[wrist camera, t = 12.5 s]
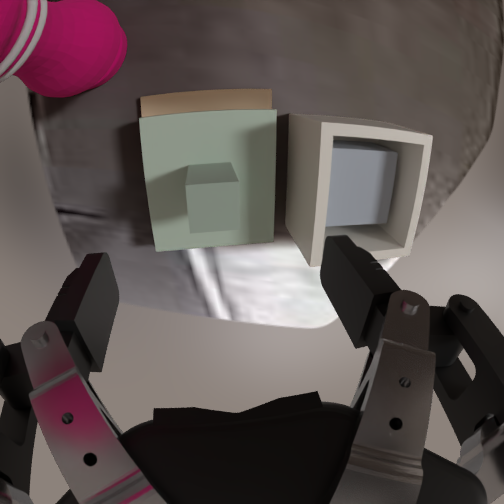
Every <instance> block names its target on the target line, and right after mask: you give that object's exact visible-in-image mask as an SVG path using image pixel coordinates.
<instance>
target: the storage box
mask: <svg viewBox="0 0 504 504" xmlns="http://www.w3.org/2000/svg"><path fill="white" fill-rule="evenodd" d="M432 139H433V136H432V135H429V134H426V133H423V132H419V131H416V130H413V129H409V128H406V127H402V126H399V125H395V124H391V123H388V122H384V121H377V120H369V119H361V118H351V117H341V116H328V115H313V114H290V113H289V129H288V165H287V192H286V215H285V226H286V228H287V229H288V231H289V233H290V234H291V236H292V238H293V239H294V241H295V243H296V244H297V246H298V248H299V249H300V251H301V253H302V255H303V256H304V258H305V260H306V261H307V263H308V265H309V266H310V267H315V266H321V263H322V257H323V250H324V243H325V239H326V237H327V236H334V235H347V236H348V237H349V238H350V239H351V240H352V241H353V242H354V243H355V245H356V246H357V247H361V248H363V249H364V250H366V251H368V252H369V253H371V254H372V256H373V257H374V258H375V259H376V260H378V259H387V258H395V257H403V256H409V255H410V251H411V247H412V243H413V240H414V236H415V232H416V228H417V223H418V219H419V215H420V210H421V205H422V201H423V196H424V190H425V185H426V180H427V174H428V168H429V161H430V154H431V147H432Z"/></svg>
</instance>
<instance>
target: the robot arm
mask: <svg viewBox="0 0 504 504" xmlns="http://www.w3.org/2000/svg"><path fill="white" fill-rule="evenodd" d="M320 279H321V284H322V287H323V288H324V290H325V292H326V294H327V296H328V298H329V299H330V301H331V303H332V305H333V307H334V309H335V311H336V312H337V314H338V316H339V318H340V320H341V321H342V323H343V326H344V327H345V329H346V331H347V333H348V335H349V337H350V339H351V341H352V343H353V345H354V347H355V348H360V347H365V346H368V348H369V350H370V351H369V353H368V356H367V359H366V362H365V365H364V368H363V371H362V375H361V378H360V381H359V384H358V387H357V390H356V393H355V395H354V398H353V400H352V403H351V405H350V407H349V406H346V405H343V404H338V403H331V402H321V400H320V397H319V394H318V391H316V392H311V393H306V394H300V395H294V396H289V397H283V398H278V399H275V400H273V401H270V402H268V403H265V404H262V405H260V406H257V407H254V408H252V409H249V410H246V411H243V412H240V413H231V412H223V411H215V410H208V409H201V408H195V407H190V408H189V407H188V408H154V413H153V420H150V421H147V422H144V423H141V424H139V425H137V426H134V427H133V428H131V429H129V430H128V431H126V432H125V433H123V432H122V430H121V429H120V428H119V427H118V425H117V424H116V422H115V421H114V420H113V418H112V417H111V415H110V414H109V412H108V410H107V409H106V408H105V406H104V404H103V403H102V401H101V399H100V398H99V396H98V395H97V393H96V391H95V390H94V388H93V386H92V384H91V383H90V381H89V380H88V378H89V374H90V372H102V368H103V363H104V358H105V354H106V350H107V345H108V342H109V338H110V334H111V330H112V326H113V322H114V318H115V315H116V311H117V307H118V304H119V290H118V286H117V282H116V279H115V276H114V272H113V269H112V265H111V262H110V258H109V256H108V254H107V253H93V254H87V255H86V257H85V258H84V260H83V262H82V264H81V266H80V268H76V269H75V270H74V271H73V272H72V273H71V274H70V275H68V276H67V278H66V280H65V281H64V283H63V285H62V288H61V289H60V291H59V293H58V296H57V297H56V299H55V301H54V303H53V305H52V307H51V309H50V311H49V313H48V315H47V317H46V319H45V321H43V322H38V323H36V324H34V325H33V326H31V327H30V328H28V329H27V331H26V332H25V333H24V335H23V337H22V339H21V342H19V343H15V344H11V345H8V346H5V345H4V344H3V342H2V341H1V339H0V395H1V396H2V398H3V399H4V400H5V401H4V405H3V408H2V413H1V416H0V504H33V502H32V500H31V499H30V497H29V490H30V474H31V464H32V455H33V447H34V440H35V434H36V428H37V422H38V423H39V425H40V428H41V430H42V433H43V435H44V437H45V440H46V442H47V444H48V446H49V449H50V451H51V453H52V455H53V457H54V459H55V461H56V463H57V465H58V467H59V469H60V471H61V473H62V475H63V477H64V478H65V480H66V482H67V484H68V486H69V487H70V489H69V490H68V491H67V492H66V494H65V495H64V496H63V497H62V498H61V499H60V500H59V501H58V502H57V503H56V504H490V503H492V502H493V501H495V500H496V499H497V498H498V497H500V496H501V495H502V494H504V336H503V335H502V334H501V332H500V331H499V330H498V328H497V327H496V326H495V325H494V323H493V322H492V321H491V320H490V318H489V317H488V316H487V315H486V313H485V312H484V311H483V310H482V309H481V307H480V306H479V305H478V304H477V303H476V302H475V301H474V300H473V299H471V298H469V297H467V296H464V295H459V294H456V295H453V296H451V297H450V299H449V301H448V303H447V305H446V307H440V306H429V304H428V302H427V301H426V300H425V299H424V298H423V297H422V296H421V295H419V294H417V293H415V292H412V291H408V290H401V289H400V288H399V287H398V285H397V284H396V283H395V282H394V280H393V279H392V278H391V277H390V276H389V274H388V273H387V272H386V271H385V270H383V267H382V266H381V265H380V264H379V263H377V260H376V259H375V258H374V257H373V256H372V254H371V253H369V252H368V251H366V250H364V249H363V248H361V247H357V246H356V245H355V243H354V242H353V241H352V240H351V239H350V238H349V237H348V236H347V235H334V236H327V237H326V239H325V243H324V250H323V257H322V263H321V270H320ZM463 348H464V349H465V351H466V352H467V354H468V355H469V357H470V358H471V360H472V362H473V363H474V365H475V368H476V375H475V378H474V380H473V381H472V380H471V378H470V376H469V374H468V373H467V371H466V370H465V368H464V366H463V365H462V363H461V361H460V360H459V358H458V356H459V354H460V353H461V351H462V350H463ZM433 389H434V391H435V393H436V395H437V397H438V398H439V400H440V402H441V404H442V407H443V408H444V411H445V413H446V414H447V417H448V419H449V421H450V423H451V425H452V427H453V429H454V432H455V434H456V436H457V438H458V440H459V443H460V445H461V451H460V457H459V458H458V460H457V464H455V463H453V462H451V461H449V460H447V459H445V458H443V457H441V456H439V455H437V454H435V453H433V452H431V451H429V450H427V449H425V448H424V445H425V440H426V435H427V429H428V424H429V417H430V410H431V403H432V394H433Z"/></svg>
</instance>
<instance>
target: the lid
mask: <svg viewBox="0 0 504 504" xmlns="http://www.w3.org/2000/svg"><path fill="white" fill-rule="evenodd" d="M276 118H277V110H275V109H229V110H208V111H194V112H182V113H172V114H163V115H155V116H147V117H141V118H139V124H140V136H141V147H142V157H143V166H144V175H145V183H146V190H147V198H148V205H149V211H150V218H151V224H152V230H153V236H154V242H155V248H156V252H158V251H169V250H181V249H193V248H205V247H217V246H229V245H241V244H253V243H266V242H274V211H275V174H276Z"/></svg>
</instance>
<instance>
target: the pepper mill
mask: <svg viewBox="0 0 504 504" xmlns="http://www.w3.org/2000/svg"><path fill="white" fill-rule="evenodd" d="M126 52H127V39H126V35H125V33H124V31H123V29H122V28H121V27H120V26H119V22H118V20H117V18H116V16H115V14H114V13H113V12H112V11H111V10H110V8H109V7H107V6H105V5H104V4H102V3H100V2H98V1H96V0H62V1H58V2H49V1H47V0H0V82H2V81H4V80H5V79H7V78H9V77H10V76H11V75H15V76H17V77H19V78H20V79H21V80H22V81H23V83H24V84H25V85H26V86H27V87H28V88H29V89H30V90H32V91H34V92H36V93H38V94H41V95H43V96H47V97H61V98H64V97H70V96H73V95H76V94H79V93H81V92H83V91H85V90H89V89H93V88H96V87H98V86H100V85H102V84H104V83H106V82H107V81H108V80H110V79H111V78H112V77H113V76H114V75H115V74H116V73H117V71H118V70H119V68H120V67H121V65H122V63H123V61H124V59H125V56H126Z"/></svg>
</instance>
